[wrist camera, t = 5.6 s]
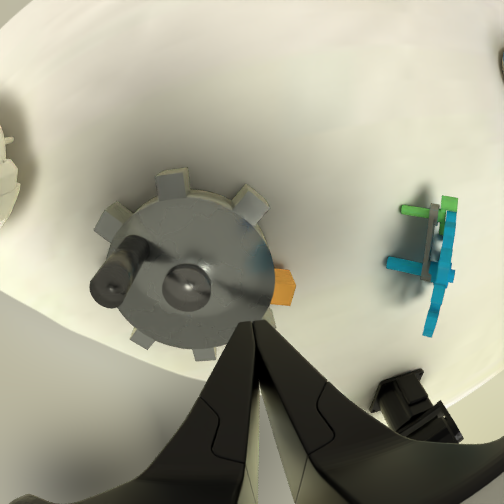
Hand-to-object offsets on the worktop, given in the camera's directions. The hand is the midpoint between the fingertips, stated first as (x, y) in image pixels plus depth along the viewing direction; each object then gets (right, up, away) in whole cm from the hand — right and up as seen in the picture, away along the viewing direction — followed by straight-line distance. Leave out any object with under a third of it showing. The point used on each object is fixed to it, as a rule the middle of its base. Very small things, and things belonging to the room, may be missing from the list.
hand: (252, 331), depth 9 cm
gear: (+14, +3, +13) cm, 20 cm away
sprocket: (-4, +2, +12) cm, 13 cm away
